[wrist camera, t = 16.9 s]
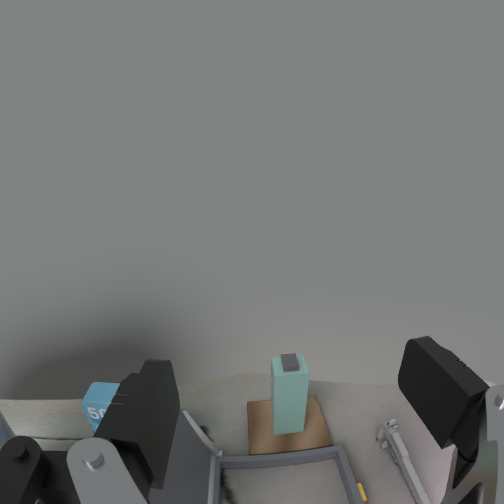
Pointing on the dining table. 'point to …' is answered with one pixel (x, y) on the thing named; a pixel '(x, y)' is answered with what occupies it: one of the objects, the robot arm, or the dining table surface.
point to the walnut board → (268, 443)
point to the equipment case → (229, 467)
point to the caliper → (402, 459)
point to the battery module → (288, 393)
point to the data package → (98, 401)
